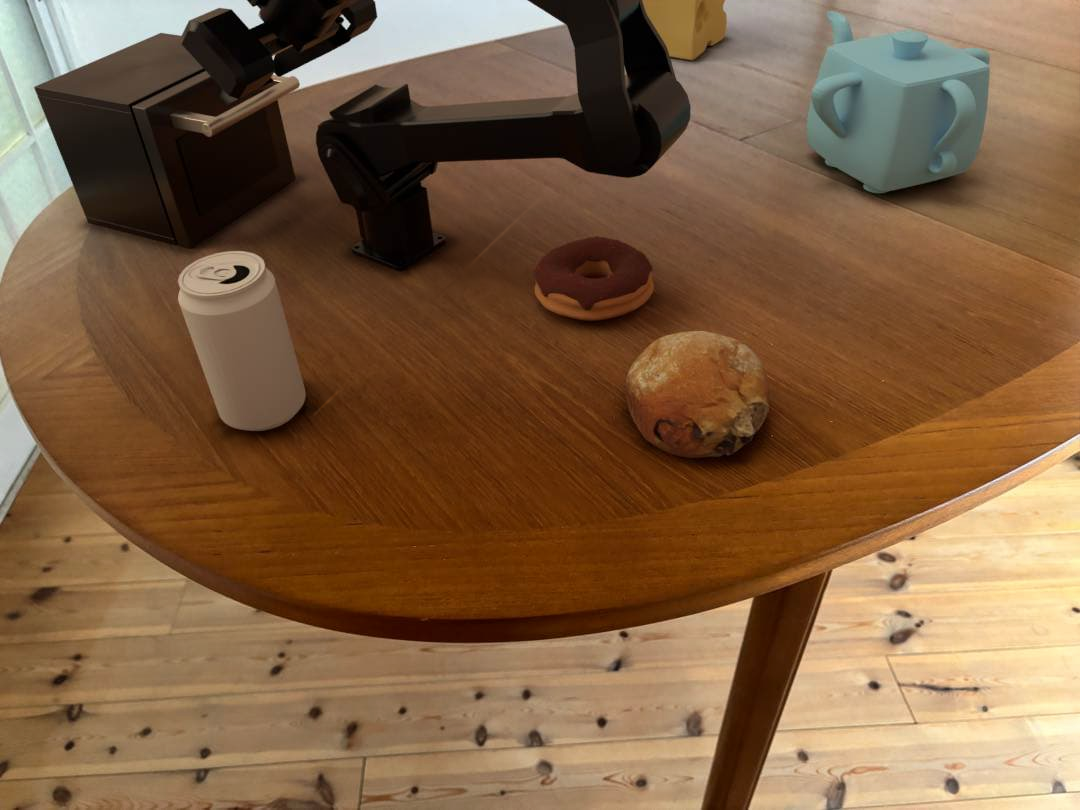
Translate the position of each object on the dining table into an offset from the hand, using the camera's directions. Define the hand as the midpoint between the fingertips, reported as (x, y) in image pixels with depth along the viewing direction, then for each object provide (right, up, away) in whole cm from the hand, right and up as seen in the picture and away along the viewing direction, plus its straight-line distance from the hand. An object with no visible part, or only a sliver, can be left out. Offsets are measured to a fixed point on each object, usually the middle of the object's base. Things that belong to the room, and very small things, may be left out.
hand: (249, 86), depth 82 cm
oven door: (-2, -10, +10) cm, 14 cm away
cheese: (+45, +20, +43) cm, 65 cm away
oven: (-11, -7, +13) cm, 19 cm away
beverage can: (+6, -29, -14) cm, 33 cm away
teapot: (+61, -4, +13) cm, 62 cm away
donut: (+31, -20, -4) cm, 37 cm away
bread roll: (+37, -30, -17) cm, 51 cm away
